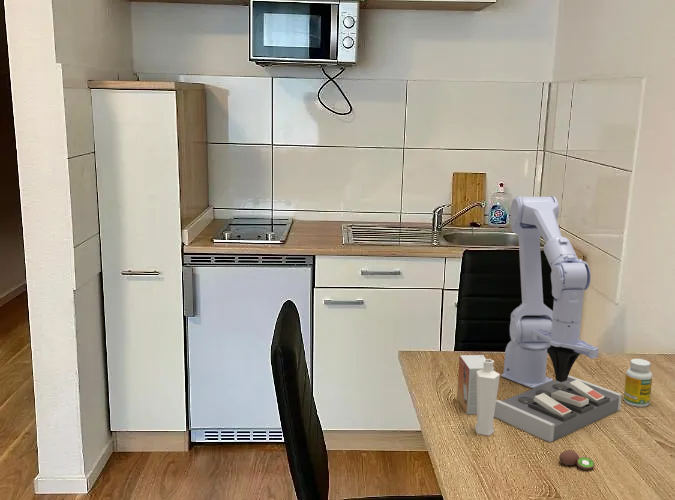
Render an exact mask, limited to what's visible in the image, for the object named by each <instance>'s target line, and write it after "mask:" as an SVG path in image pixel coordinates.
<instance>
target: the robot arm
mask: <svg viewBox="0 0 675 500" xmlns="http://www.w3.org/2000/svg"><path fill="white" fill-rule="evenodd" d="M509 210H510V226H511V232H512V233H514V234H516V235H517V238H518V246H519V247H518V251H519V270H520V272H519V273H520V288H521V289H520V290H521V291H520V292H521V303H520V304H519V306H517V307H516V308H515V309H513V311H512V312H511V313H510V322H509V323H510V324H509V337H510V341H509V342H508V343H507V344H506V347H505V351H504V361H503V362H504V364H503V373H501V374H500V375H501V376H500V377H503V378H504V379H508V380H510V381H513V382H515V383H518V384H521V385H523V386H525V387H528V388H529V389H534V388H537V387H539V386H542V385H545V384H547V383H550V382H553V381H554V378H551V377H548V376H546V375H547V364H548V356H549V358H550V360H551V363H552V366H553V370H554V375H555V376H554V377H555V380H556V381H559V382H564V381H566V380H567V378H568V375H569V374H570V372H571V369H572V368H573V365H574V364H575V362H576V361H577V359H578V358H579V356H581V355H584V356H587V357H588V359H594V360H595V359H596V358H598V357H599V351H600V349H599V347H597V346H594V345H592V344H590V343H588V342H587V341H584V340H583V339H580V337H581V328H582V316H583V305H584V295H585V294H584V293H585V291H586V290H588V289H589V287H590V285H591V277H592V276H591V270H590V267H589V264H588V262H586V261H584V260H583V259H580V258H579V257H578V255H577V254H576V251H575V249H574V247H573V245H572V242H571V241H570V240H569V239H568V238H567V237H565V236H562V232H561V229H560V226H559V223H558V218H559V215H560V214H559V213H560V203H559V201H558V199H557V198H556V196H554V195H550V196H520V195H516V196H515V197H514V198H513V199H512V201H511V205H510V209H509ZM541 237H542V239H543V241H544V242H545V244H544V247H543V252H544V254H545V256H546V260H547V262H548V265H549V266H550V268H551V272H550V281H551V295H552V297H553V306H552V309H551V308H550V307H548V306H547V305H546V304H545V303H544V293H543V291H544V290H543V275H542V273H543V272H542V257H541V256H542V255H541ZM531 316H532V317H531ZM536 316H537V317H536Z"/></svg>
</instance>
